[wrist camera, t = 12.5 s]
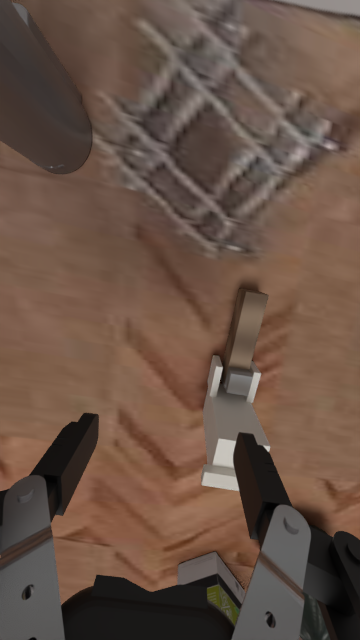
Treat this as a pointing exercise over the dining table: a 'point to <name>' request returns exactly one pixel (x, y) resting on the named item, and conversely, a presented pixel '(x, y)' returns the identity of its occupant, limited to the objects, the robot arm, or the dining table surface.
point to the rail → (242, 341)
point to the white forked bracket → (227, 426)
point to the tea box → (213, 582)
